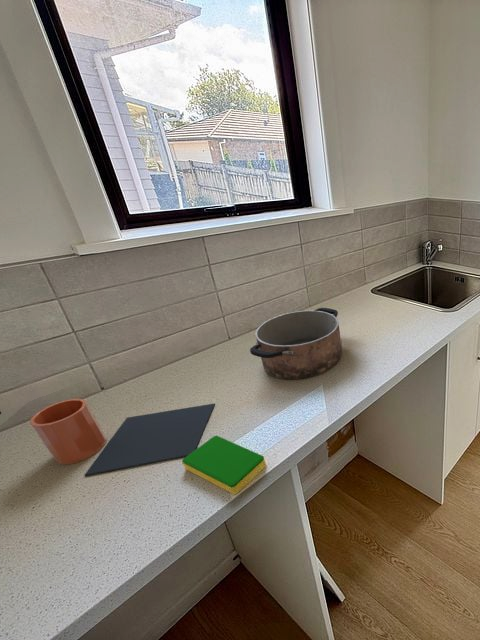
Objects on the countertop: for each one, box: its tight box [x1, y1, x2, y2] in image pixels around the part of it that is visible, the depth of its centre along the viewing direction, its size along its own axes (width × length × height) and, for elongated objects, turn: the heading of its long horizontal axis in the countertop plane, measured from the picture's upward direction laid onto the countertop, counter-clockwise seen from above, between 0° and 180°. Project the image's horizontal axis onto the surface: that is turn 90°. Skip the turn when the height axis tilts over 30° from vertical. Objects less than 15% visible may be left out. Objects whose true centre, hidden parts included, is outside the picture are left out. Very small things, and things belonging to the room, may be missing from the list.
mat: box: [84, 403, 216, 477], centre depth 72 cm, size 18×16×1 cm
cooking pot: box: [249, 307, 343, 381], centre depth 98 cm, size 30×22×11 cm
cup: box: [29, 398, 107, 466], centre depth 66 cm, size 8×8×10 cm
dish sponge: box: [181, 435, 267, 495], centre depth 64 cm, size 7×14×2 cm, turn 66°
